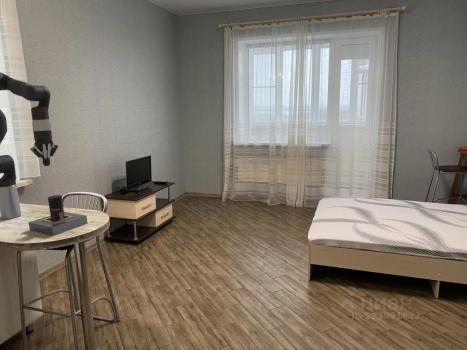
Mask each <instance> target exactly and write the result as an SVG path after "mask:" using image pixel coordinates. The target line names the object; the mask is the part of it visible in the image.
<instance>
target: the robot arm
mask: <svg viewBox="0 0 467 350" xmlns="http://www.w3.org/2000/svg"><path fill="white" fill-rule="evenodd" d="M49 89H50V88H48V87H47V86H45V85H34V84H33V85H32V84H31V83H29V82H26V81H24V80H23V81H22V80H19V79H15V78H13V77H10V76H9V75H8V74H5V73H3V72H1V71H0V92H1V91H9V92H10V93H12V94H13V95H15V96H18V97H22V98H24V99H25V100H27V101H30V102H38V104H37V106H33V107H31V108H30V113H31V120H32V122H31V123H32V124H31V126H32V132H33V140H34V143H33V144H34V146H33V147H30V151H31V152H32V153H33V154H34V155H36V157H37V158H40V159H41V160H42V165H43V166H44V167H50V165H51V157H53V156H54V155H55V153H56V151H57V150H58V148H59V145H58V144H56V143H54V141H53V135H52V134H53V133H52V124H51V121H50V116H49V115H50V113H49V107H50V103H51V91H50V90H49ZM7 122H8V121H7V117H6V115H5V113H4V112H3V111H2V109H1V108H0V145H2V142H3V141H4V139H5V137H6V134H7V133H8V123H7ZM0 174H1V175H2V174H3V175H2V176H1V177H0V217H1V219H2V220H10V219H15V218H18V217H21V216H22V210H21V204H20V199H19V193H18V192H19V191H18V186H17V175H16V174H17V173H16V164H15V160H14V158H13V157H12V155H10V154H2V155H0Z"/></svg>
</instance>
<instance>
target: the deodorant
mask: <svg viewBox="0 0 467 350" xmlns="http://www.w3.org/2000/svg"><path fill="white" fill-rule="evenodd" d="M47 200H48V208H49V213H50V215H49V216H51V221H55V222H56V221H59V220H62V219H65V215H64V212H65V210H64V202H63V197H62V195H61V194H55V195H50V196H48V197H47Z"/></svg>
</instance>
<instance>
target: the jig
mask: <svg viewBox="0 0 467 350" xmlns="http://www.w3.org/2000/svg"><path fill="white" fill-rule="evenodd" d="M64 215H65V219H62V220H59V221H56V222H55V221H51V216H50V215H49V216H43V217H41V218H38V219H35V220H32V221H31V220H30V221H29V222H27V223H28V228H29V231H31V232H36V233H38V234H44V235H48V236H53V237H55V236H57V235H60V234H63V233H65V231H66V232H68V231H70V230H73V228H74V229H76V228H79V227H82V226H84V225H88V217H87V215H86V214H85V215H84V214H80V213H73V212H69V211H64Z"/></svg>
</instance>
